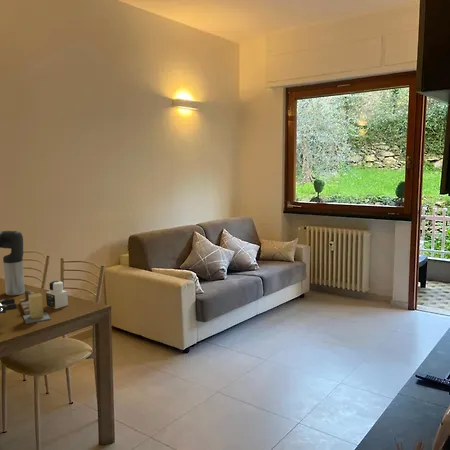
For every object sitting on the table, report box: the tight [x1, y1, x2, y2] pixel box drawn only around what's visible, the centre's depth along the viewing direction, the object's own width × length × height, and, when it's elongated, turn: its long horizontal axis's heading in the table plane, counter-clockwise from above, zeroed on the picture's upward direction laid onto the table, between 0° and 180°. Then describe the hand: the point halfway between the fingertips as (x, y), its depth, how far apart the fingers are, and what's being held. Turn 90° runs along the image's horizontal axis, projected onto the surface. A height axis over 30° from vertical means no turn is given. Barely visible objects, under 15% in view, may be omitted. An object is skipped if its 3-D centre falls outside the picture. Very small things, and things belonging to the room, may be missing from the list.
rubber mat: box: [22, 311, 51, 324], centre depth 206 cm, size 10×10×1 cm
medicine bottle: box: [45, 280, 69, 310], centre depth 222 cm, size 7×7×12 cm
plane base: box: [19, 289, 45, 316], centre depth 220 cm, size 20×8×8 cm, turn 30°
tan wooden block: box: [28, 292, 44, 320], centre depth 205 cm, size 5×5×10 cm
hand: (15, 303), depth 201 cm, fingers open, 8 cm apart
